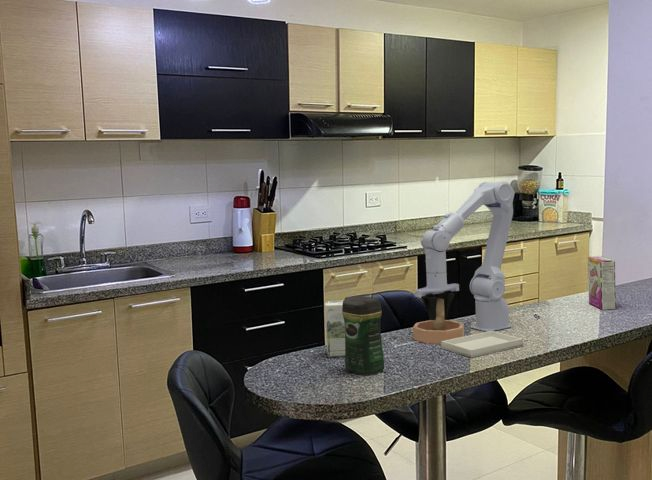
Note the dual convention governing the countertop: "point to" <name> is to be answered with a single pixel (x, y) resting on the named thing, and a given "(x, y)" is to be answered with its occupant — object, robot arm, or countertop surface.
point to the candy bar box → (602, 282)
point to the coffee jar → (363, 335)
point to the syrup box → (335, 328)
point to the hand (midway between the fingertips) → (438, 318)
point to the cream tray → (481, 344)
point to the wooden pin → (439, 316)
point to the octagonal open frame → (437, 332)
